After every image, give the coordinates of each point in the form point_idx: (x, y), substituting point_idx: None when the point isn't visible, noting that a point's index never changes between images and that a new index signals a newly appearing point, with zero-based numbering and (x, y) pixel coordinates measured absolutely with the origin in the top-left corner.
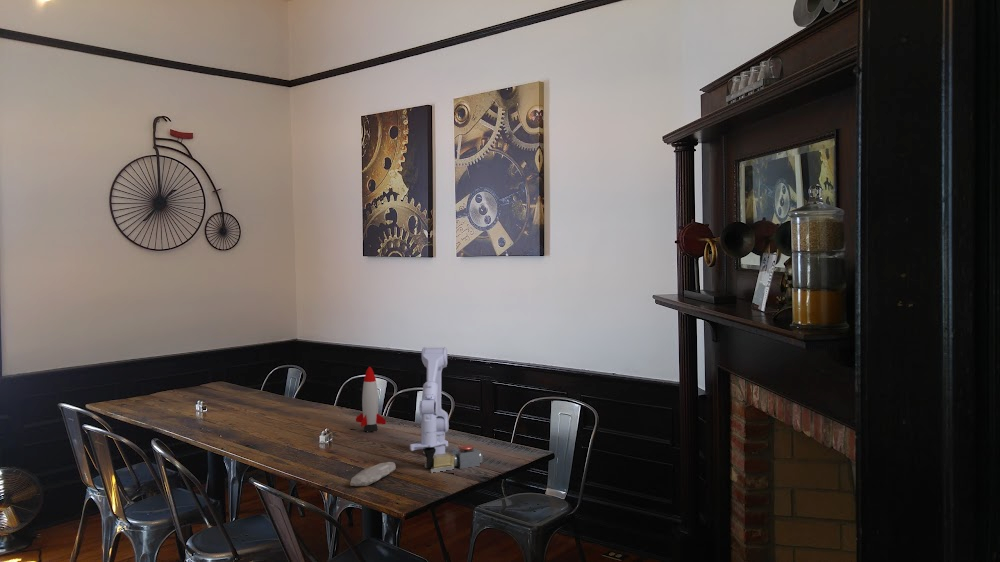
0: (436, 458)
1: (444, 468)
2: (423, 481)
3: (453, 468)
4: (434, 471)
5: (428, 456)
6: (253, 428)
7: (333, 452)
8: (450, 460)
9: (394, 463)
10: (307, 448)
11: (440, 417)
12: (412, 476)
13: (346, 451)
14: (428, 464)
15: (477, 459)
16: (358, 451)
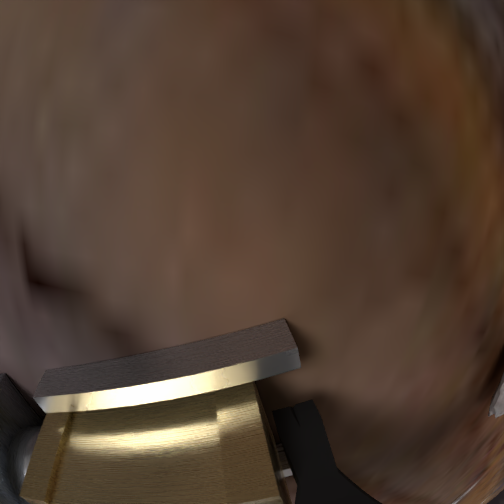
0: (235, 497)
1: (124, 378)
2: (404, 40)
3: (45, 380)
4: (248, 337)
5: (369, 501)
6: (479, 498)
7: (482, 471)
8: (62, 464)
9: (501, 403)
10: (494, 470)
11: None
12: (462, 242)
13: (460, 486)
14: (323, 427)
15: None
16: (441, 496)
